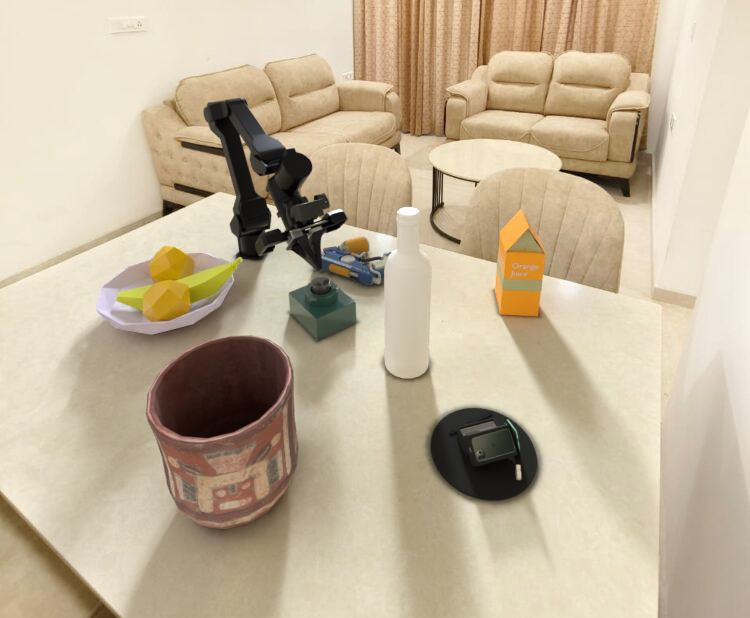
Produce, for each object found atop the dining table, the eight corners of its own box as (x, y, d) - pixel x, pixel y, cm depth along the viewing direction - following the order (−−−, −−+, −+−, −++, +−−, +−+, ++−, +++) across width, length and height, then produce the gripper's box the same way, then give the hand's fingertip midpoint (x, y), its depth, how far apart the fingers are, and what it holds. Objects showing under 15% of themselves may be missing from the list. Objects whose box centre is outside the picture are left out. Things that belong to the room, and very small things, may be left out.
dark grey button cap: (308, 289, 99) (308, 280, 99) (324, 283, 101) (323, 274, 101) (318, 297, 97) (317, 288, 96) (333, 291, 99) (333, 281, 98)
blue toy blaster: (341, 241, 131) (306, 268, 119) (341, 227, 129) (305, 253, 117) (412, 263, 121) (381, 295, 109) (413, 248, 120) (381, 279, 108)
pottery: (147, 483, 68) (121, 381, 62) (258, 410, 80) (246, 317, 73) (210, 587, 56) (185, 474, 50) (330, 484, 68) (323, 381, 61)
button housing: (290, 312, 103) (287, 284, 101) (327, 297, 108) (325, 269, 106) (317, 341, 95) (315, 310, 92) (356, 322, 100) (355, 293, 97)
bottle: (426, 382, 85) (431, 224, 74) (380, 376, 86) (379, 220, 75) (430, 351, 92) (436, 202, 81) (388, 345, 93) (388, 199, 82)
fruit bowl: (70, 340, 96) (56, 290, 92) (159, 267, 120) (150, 225, 116) (200, 363, 90) (191, 310, 85) (266, 281, 114) (261, 237, 110)
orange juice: (530, 291, 109) (540, 208, 102) (538, 316, 101) (550, 228, 94) (493, 289, 110) (501, 207, 103) (499, 314, 102) (507, 227, 94)
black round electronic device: (457, 514, 64) (459, 484, 62) (415, 422, 77) (416, 395, 75) (558, 482, 68) (564, 453, 66) (502, 400, 81) (505, 373, 79)
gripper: (255, 194, 90) (289, 273, 86) (341, 171, 100) (375, 241, 96) (242, 219, 99) (272, 291, 95) (322, 195, 109) (353, 260, 105)
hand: (320, 270), depth 97 cm, fingers closed
